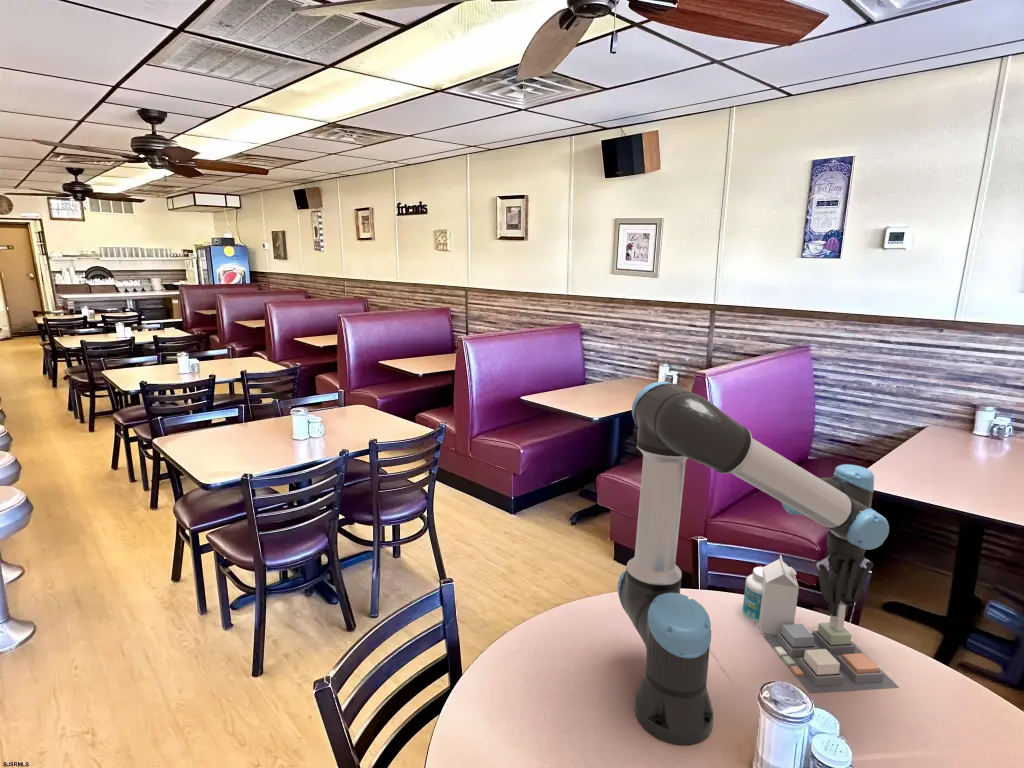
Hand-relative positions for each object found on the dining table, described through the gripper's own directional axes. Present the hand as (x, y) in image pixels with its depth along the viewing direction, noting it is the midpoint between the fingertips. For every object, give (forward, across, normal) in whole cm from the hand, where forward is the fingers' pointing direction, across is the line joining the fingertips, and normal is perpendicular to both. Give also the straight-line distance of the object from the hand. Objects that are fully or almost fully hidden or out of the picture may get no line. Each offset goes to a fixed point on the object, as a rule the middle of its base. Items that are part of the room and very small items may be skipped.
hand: (836, 627), depth 132 cm
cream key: (+3, -9, -9) cm, 13 cm away
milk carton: (+6, -10, +8) cm, 14 cm away
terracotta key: (+4, 0, -9) cm, 10 cm away
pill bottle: (+6, -12, +13) cm, 18 cm away
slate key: (+3, -9, 0) cm, 10 cm away
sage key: (+3, 0, 0) cm, 3 cm away
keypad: (+6, -5, -4) cm, 9 cm away
